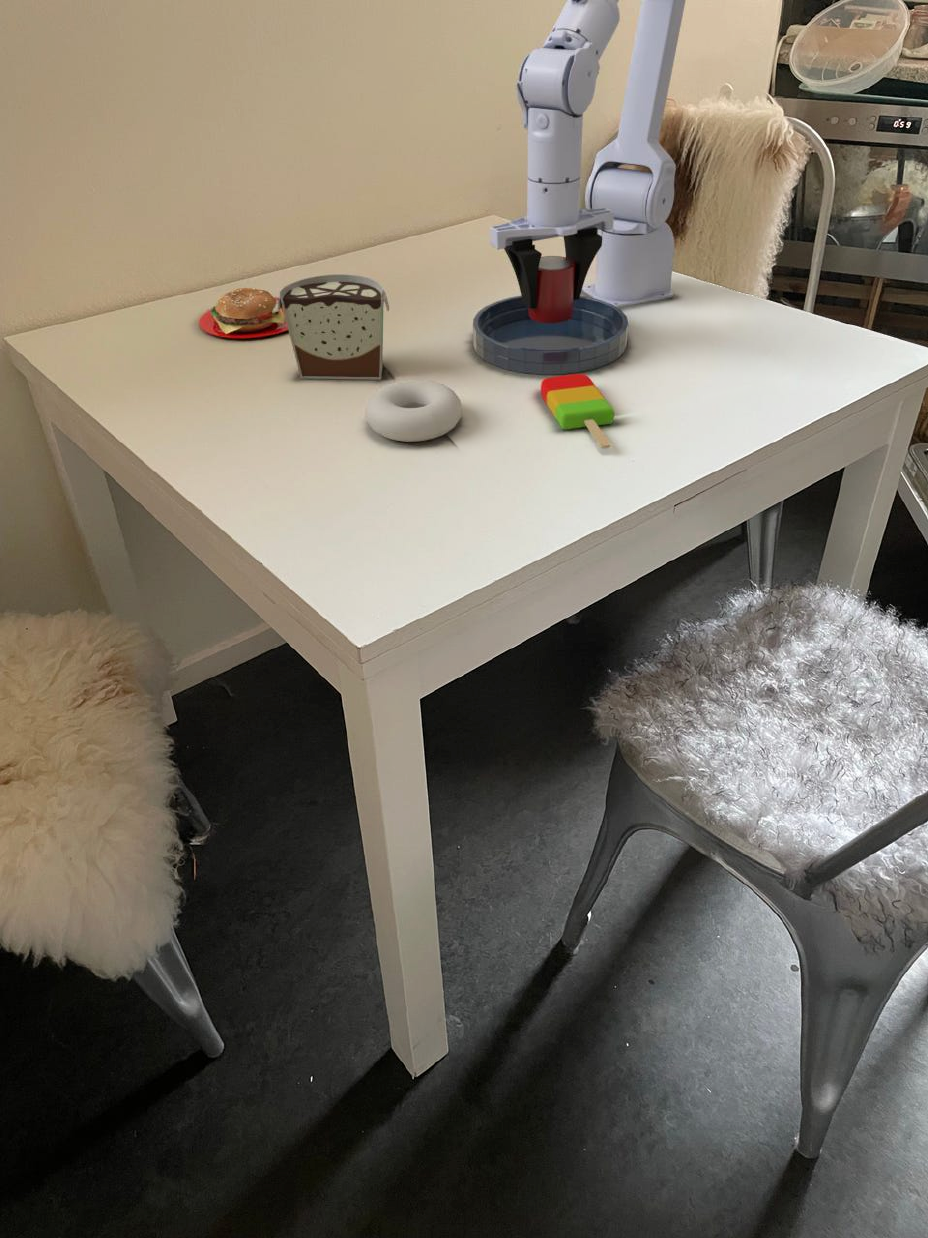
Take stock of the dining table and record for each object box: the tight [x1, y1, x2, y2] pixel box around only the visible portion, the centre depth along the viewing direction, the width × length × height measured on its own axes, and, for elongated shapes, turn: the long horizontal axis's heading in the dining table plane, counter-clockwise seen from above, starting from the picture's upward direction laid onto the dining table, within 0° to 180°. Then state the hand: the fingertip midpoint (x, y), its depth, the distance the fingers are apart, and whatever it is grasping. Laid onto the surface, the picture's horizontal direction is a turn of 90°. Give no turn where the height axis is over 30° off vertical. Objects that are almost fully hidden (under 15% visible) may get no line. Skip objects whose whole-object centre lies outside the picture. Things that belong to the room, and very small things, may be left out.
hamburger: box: [198, 286, 289, 339], centre depth 123 cm, size 14×14×6 cm
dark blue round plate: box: [472, 294, 629, 376], centre depth 114 cm, size 18×18×3 cm
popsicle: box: [540, 373, 615, 449], centre depth 99 cm, size 6×15×2 cm, turn 12°
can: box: [529, 255, 575, 323], centre depth 111 cm, size 5×5×6 cm
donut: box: [365, 379, 463, 443], centre depth 99 cm, size 10×4×10 cm
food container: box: [277, 273, 390, 381], centre depth 109 cm, size 12×6×10 cm, turn 84°
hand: (550, 301), depth 112 cm, fingers closed on can, 5 cm apart
